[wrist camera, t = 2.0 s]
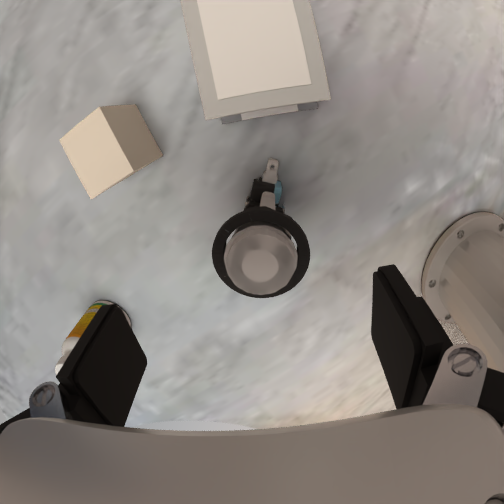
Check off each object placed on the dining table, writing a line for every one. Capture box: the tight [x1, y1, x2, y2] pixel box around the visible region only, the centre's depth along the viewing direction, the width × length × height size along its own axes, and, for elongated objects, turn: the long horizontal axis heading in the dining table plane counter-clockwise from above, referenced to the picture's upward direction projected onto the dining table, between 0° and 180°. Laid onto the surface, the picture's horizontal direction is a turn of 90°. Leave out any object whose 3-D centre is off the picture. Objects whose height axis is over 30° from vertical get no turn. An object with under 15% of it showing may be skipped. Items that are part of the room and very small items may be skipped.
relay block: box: [60, 105, 163, 199], centre depth 20 cm, size 4×5×6 cm
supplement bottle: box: [55, 301, 131, 374], centre depth 27 cm, size 5×5×10 cm
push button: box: [212, 158, 310, 298], centre depth 20 cm, size 7×5×10 cm
